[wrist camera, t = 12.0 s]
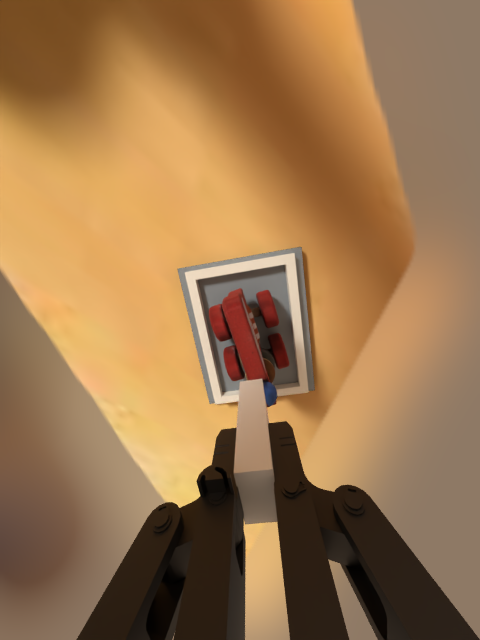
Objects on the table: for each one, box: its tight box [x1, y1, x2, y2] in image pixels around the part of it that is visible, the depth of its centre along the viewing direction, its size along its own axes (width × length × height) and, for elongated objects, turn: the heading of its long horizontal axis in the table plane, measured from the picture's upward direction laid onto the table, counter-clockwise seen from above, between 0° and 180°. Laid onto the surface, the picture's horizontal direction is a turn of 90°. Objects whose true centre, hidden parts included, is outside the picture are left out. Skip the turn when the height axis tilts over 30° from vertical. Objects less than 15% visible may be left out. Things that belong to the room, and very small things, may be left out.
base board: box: [178, 247, 315, 404], centre depth 27 cm, size 18×14×2 cm
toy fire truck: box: [209, 288, 289, 407], centre depth 22 cm, size 7×12×10 cm, turn 17°
